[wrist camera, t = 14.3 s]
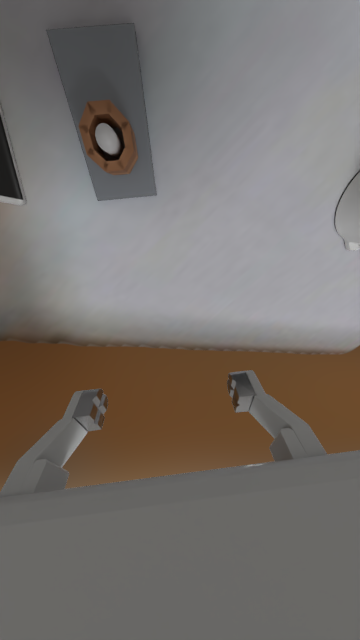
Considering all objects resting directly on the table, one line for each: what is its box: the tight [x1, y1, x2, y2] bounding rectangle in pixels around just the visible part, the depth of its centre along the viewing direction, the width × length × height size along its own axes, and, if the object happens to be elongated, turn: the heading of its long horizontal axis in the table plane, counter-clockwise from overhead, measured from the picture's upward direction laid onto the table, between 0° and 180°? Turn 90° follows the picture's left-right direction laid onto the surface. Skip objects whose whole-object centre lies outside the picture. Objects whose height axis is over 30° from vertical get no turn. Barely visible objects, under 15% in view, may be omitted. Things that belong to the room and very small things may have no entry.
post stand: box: [47, 23, 156, 201], centre depth 22 cm, size 10×16×7 cm, turn 5°
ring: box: [79, 100, 138, 175], centre depth 23 cm, size 6×6×5 cm
